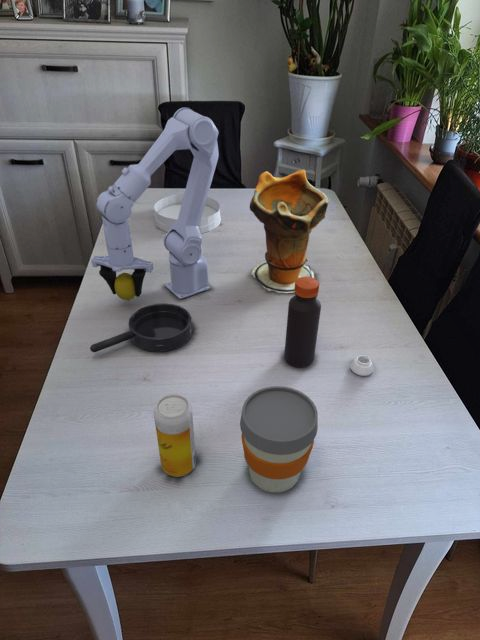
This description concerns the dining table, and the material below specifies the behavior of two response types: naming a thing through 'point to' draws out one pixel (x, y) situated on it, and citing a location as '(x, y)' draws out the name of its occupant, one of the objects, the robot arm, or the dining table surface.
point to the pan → (161, 327)
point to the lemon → (125, 286)
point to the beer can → (175, 435)
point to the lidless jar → (362, 365)
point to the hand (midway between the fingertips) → (127, 293)
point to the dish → (170, 210)
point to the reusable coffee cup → (277, 436)
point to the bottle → (302, 323)
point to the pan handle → (111, 341)
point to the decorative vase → (286, 227)
